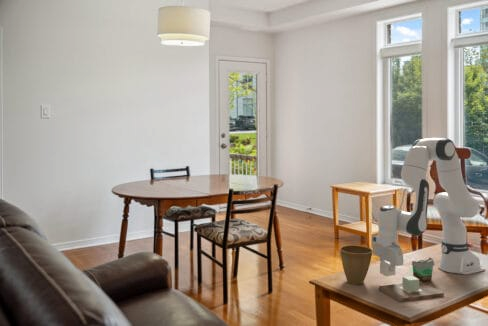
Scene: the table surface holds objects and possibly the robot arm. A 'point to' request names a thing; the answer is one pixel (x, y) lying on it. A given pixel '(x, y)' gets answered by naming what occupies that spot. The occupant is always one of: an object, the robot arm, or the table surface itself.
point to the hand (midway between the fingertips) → (387, 269)
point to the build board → (404, 295)
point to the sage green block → (410, 283)
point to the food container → (423, 270)
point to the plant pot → (355, 262)
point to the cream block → (386, 269)
